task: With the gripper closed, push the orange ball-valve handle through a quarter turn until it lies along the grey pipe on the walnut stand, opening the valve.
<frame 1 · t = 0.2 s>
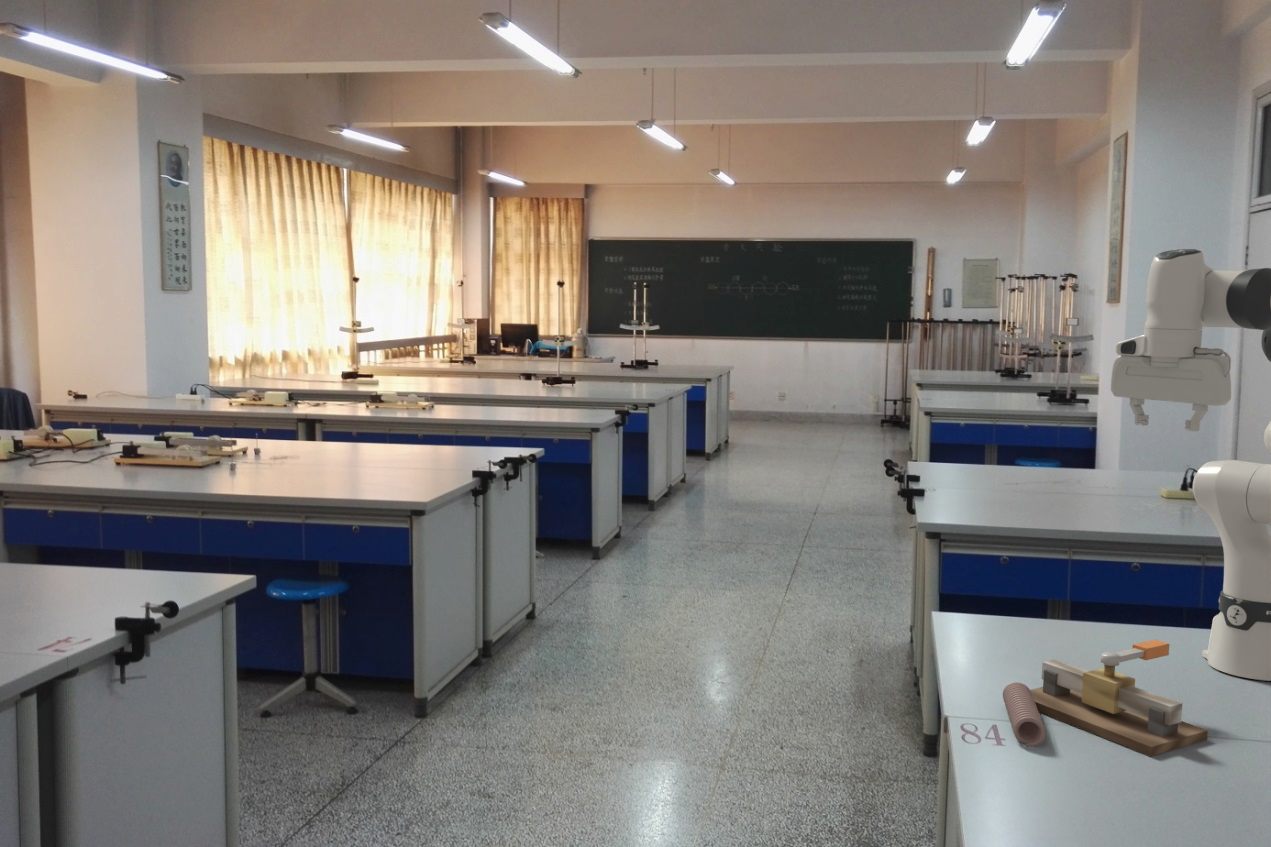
hand: (1166, 428, 188), 47 cm above the table, fingers open, 8 cm apart
valve stand: (1106, 719, 181), on the table
coil: (1022, 727, 179), on the table, touching valve stand
valve lever: (1133, 653, 183), point 10 cm above the table, hinge at 0.0°
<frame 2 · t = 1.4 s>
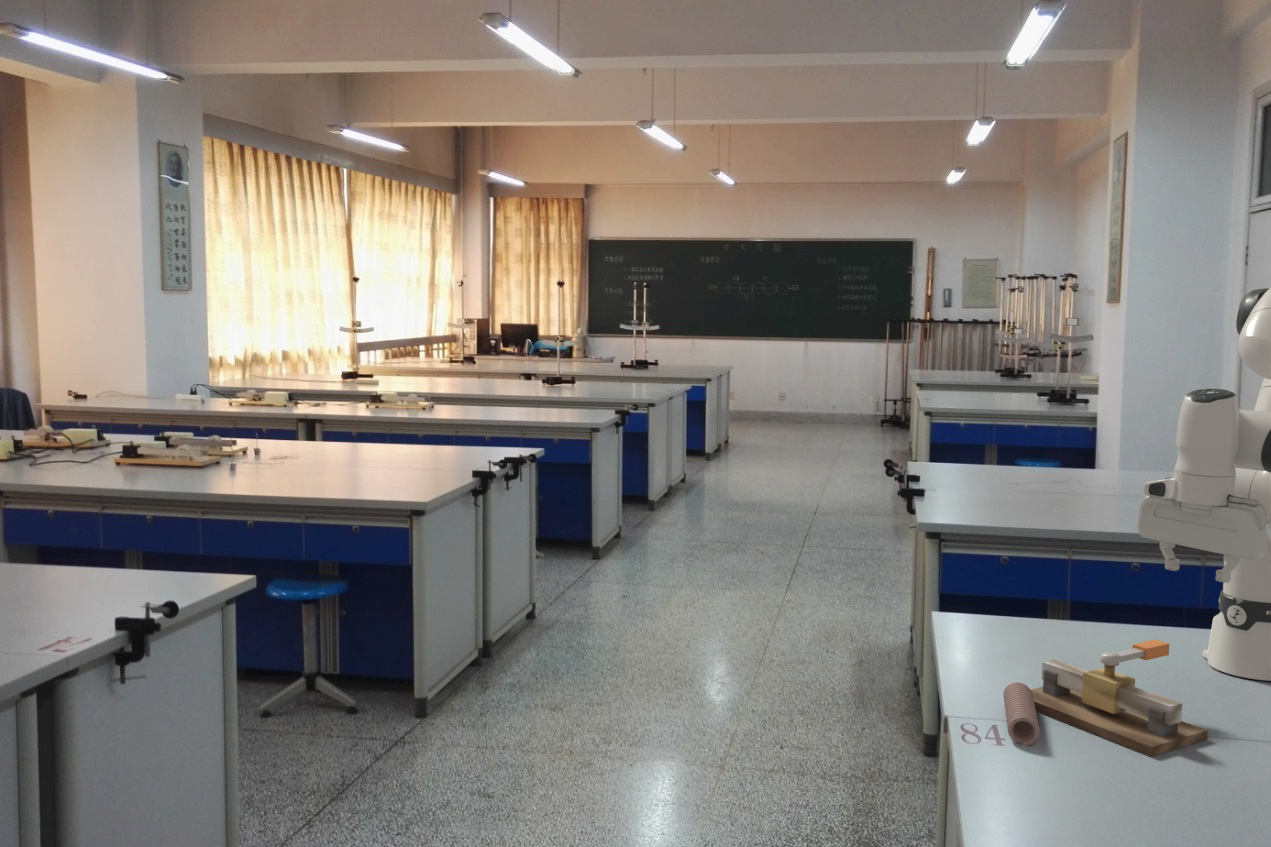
hand: (1196, 575, 178), 25 cm above the table, fingers open, 7 cm apart
coil: (1020, 727, 179), on the table
everything else where it was.
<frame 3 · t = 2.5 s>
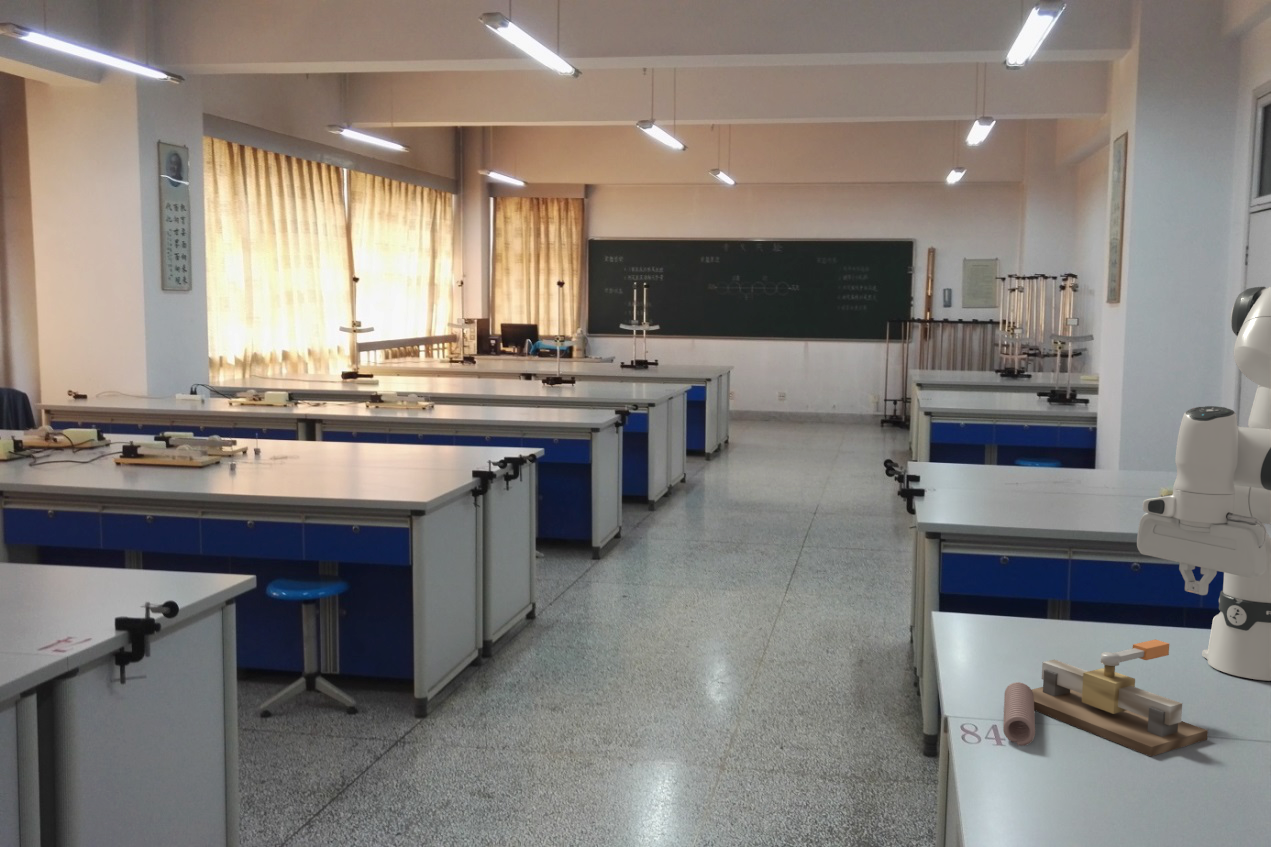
hand: (1196, 592, 179), 22 cm above the table, fingers closed
nothing on the table moved.
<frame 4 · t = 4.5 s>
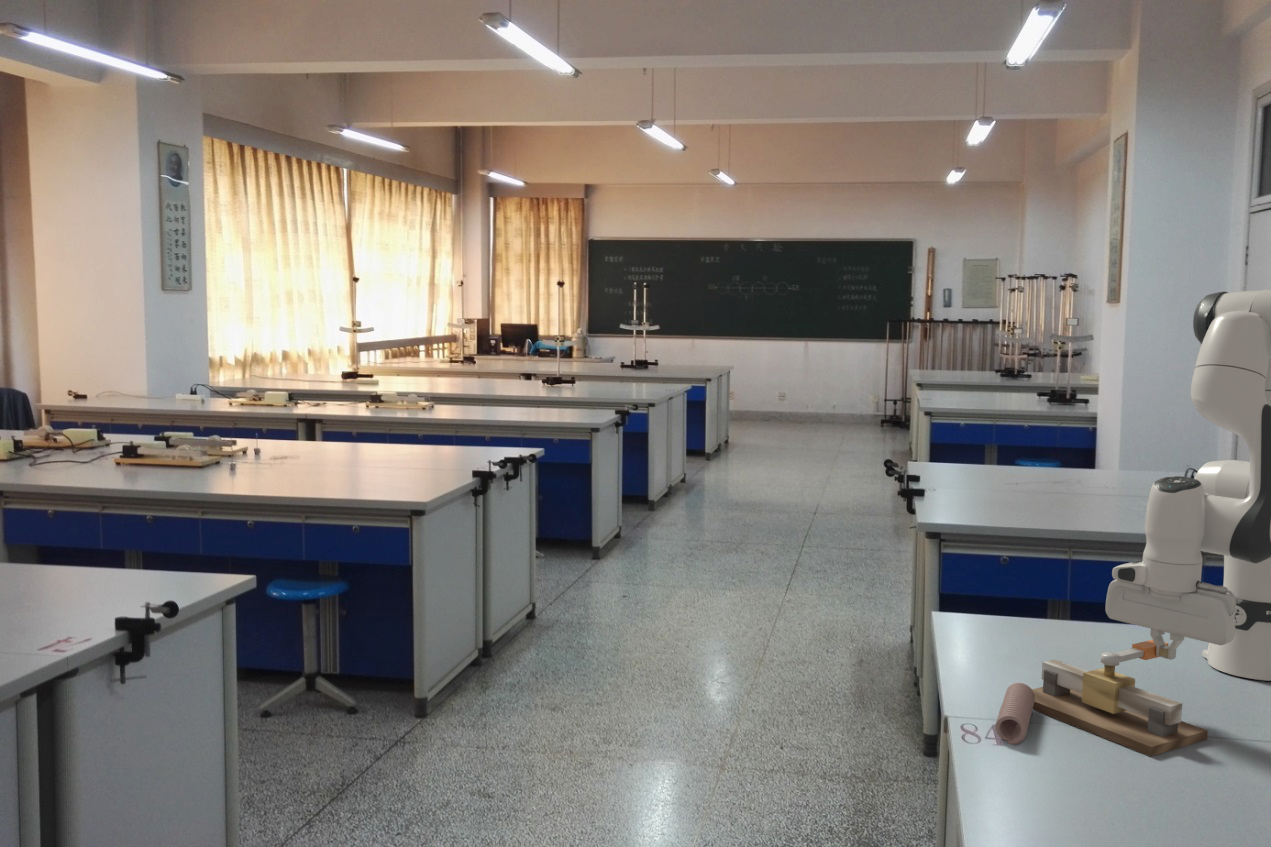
hand: (1165, 657, 184), 10 cm above the table, fingers closed
valve lever: (1133, 653, 183), point 10 cm above the table, hinge at 0.8°, touching gripper
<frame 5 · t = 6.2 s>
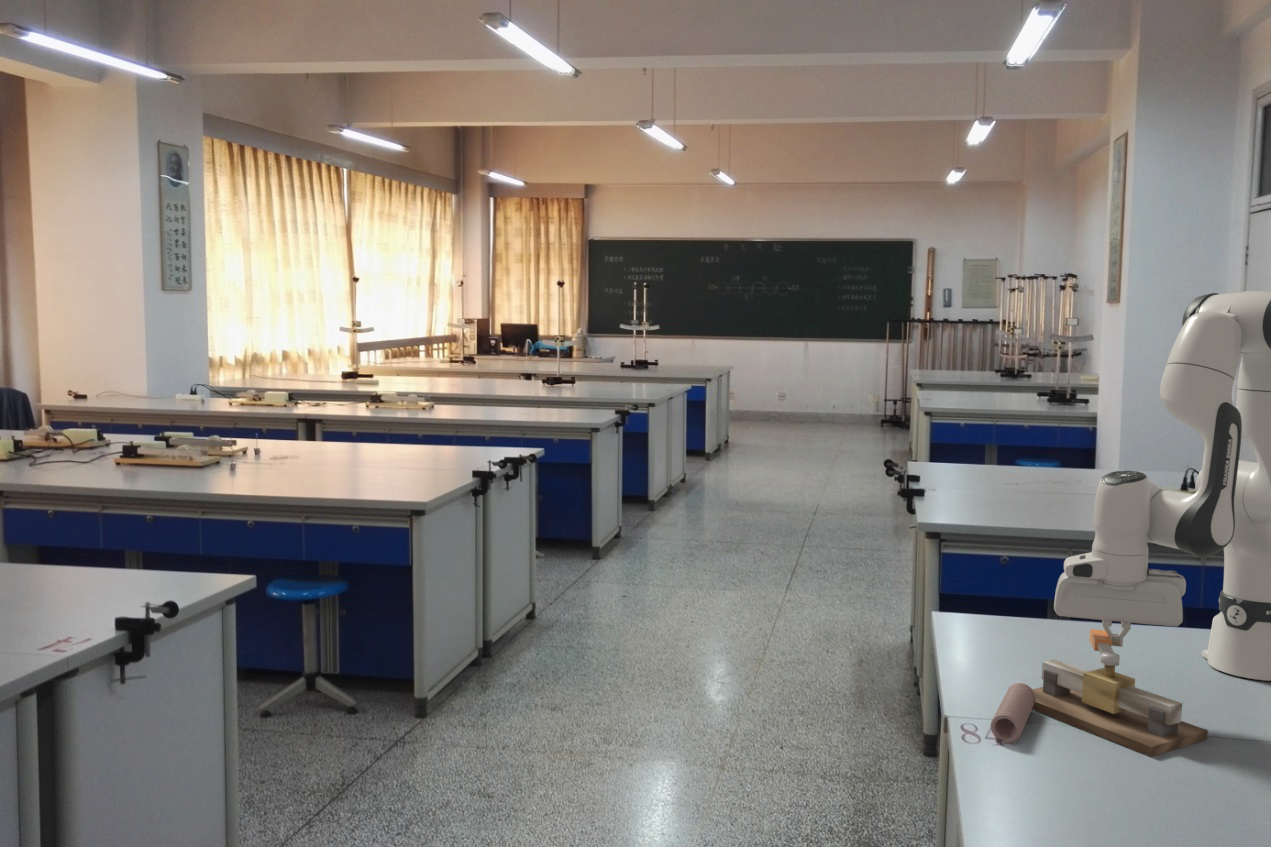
hand: (1115, 645, 190), 10 cm above the table, fingers closed
valve lever: (1104, 648, 186), point 10 cm above the table, hinge at 45.4°, touching gripper
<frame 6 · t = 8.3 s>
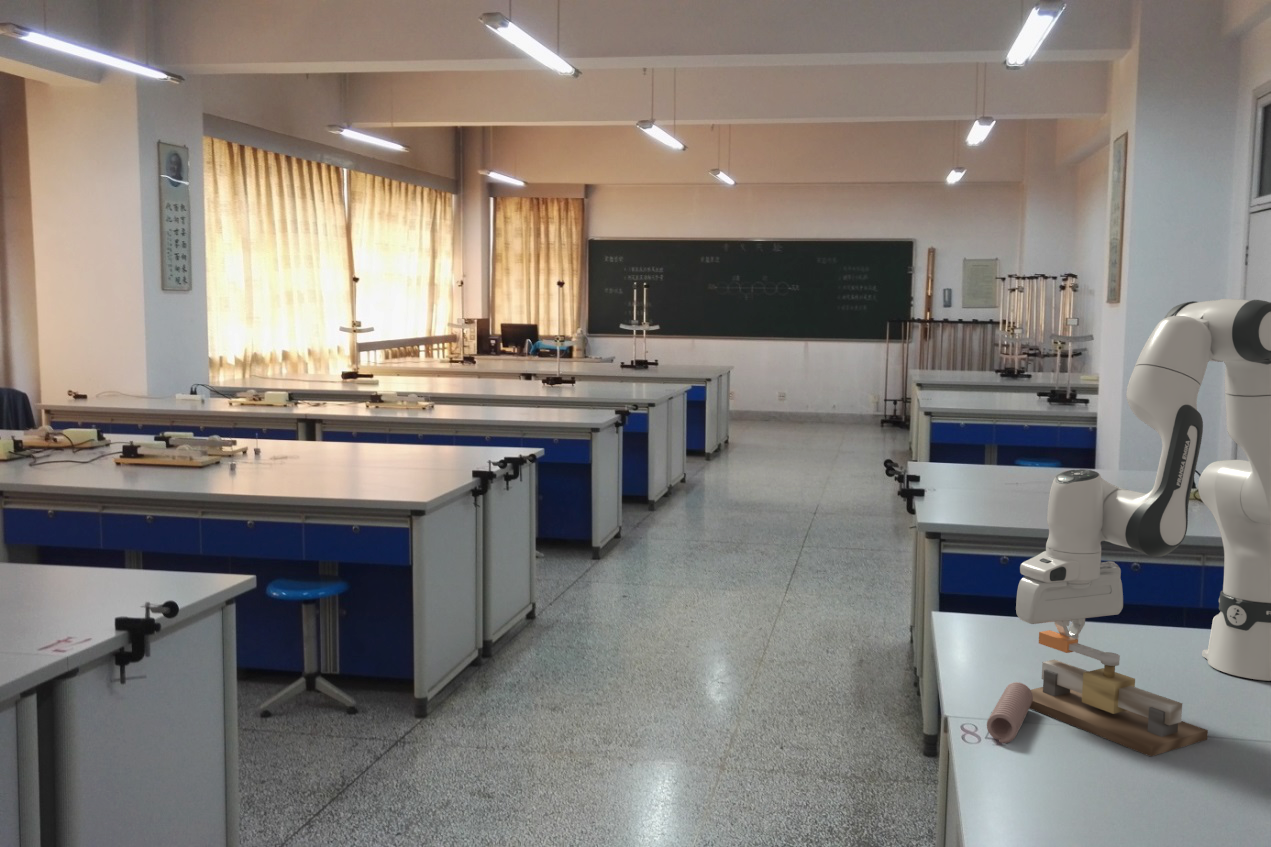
hand: (1068, 643, 191), 10 cm above the table, fingers closed
valve lever: (1079, 648, 186), point 10 cm above the table, hinge at 88.3°, touching gripper
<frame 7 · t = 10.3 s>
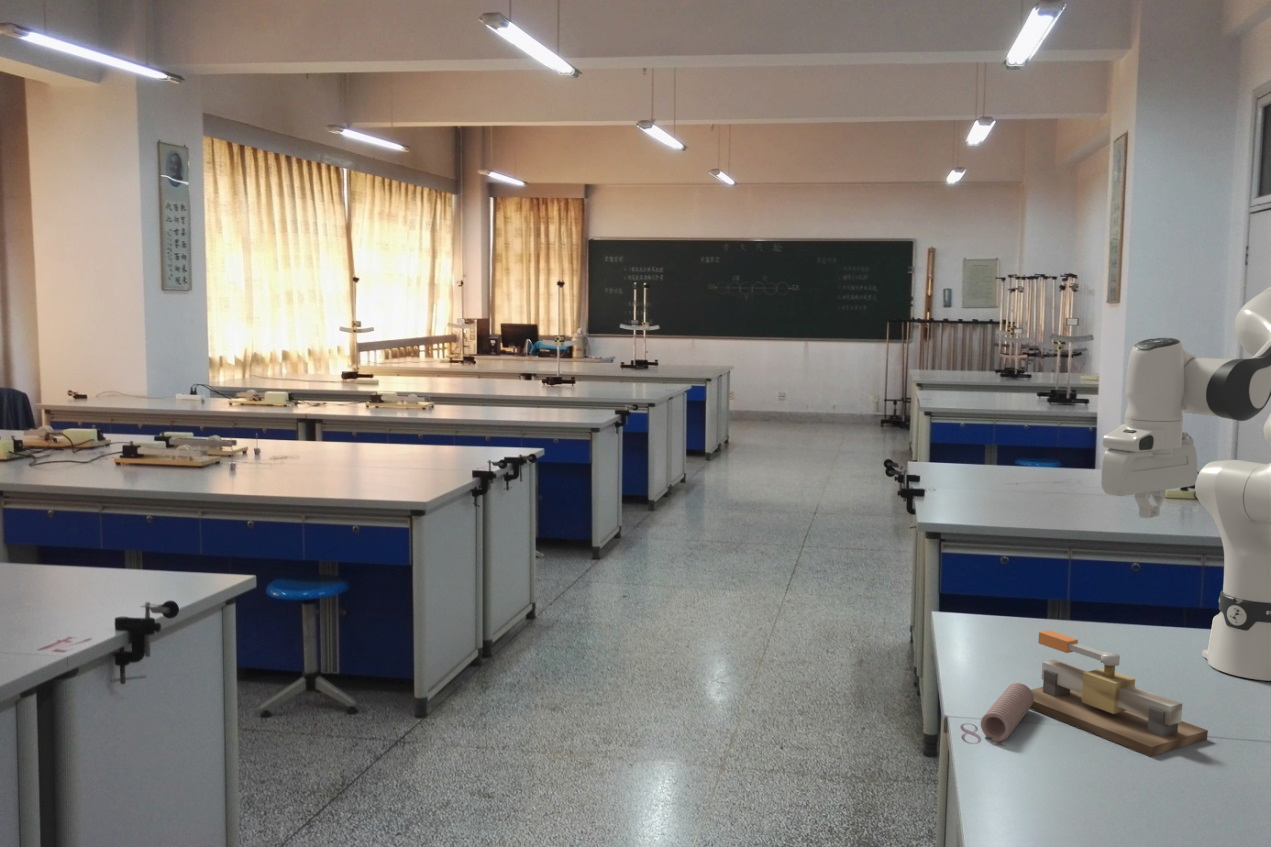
hand: (1149, 516, 187), 32 cm above the table, fingers closed
valve lever: (1079, 648, 186), point 10 cm above the table, hinge at 88.5°
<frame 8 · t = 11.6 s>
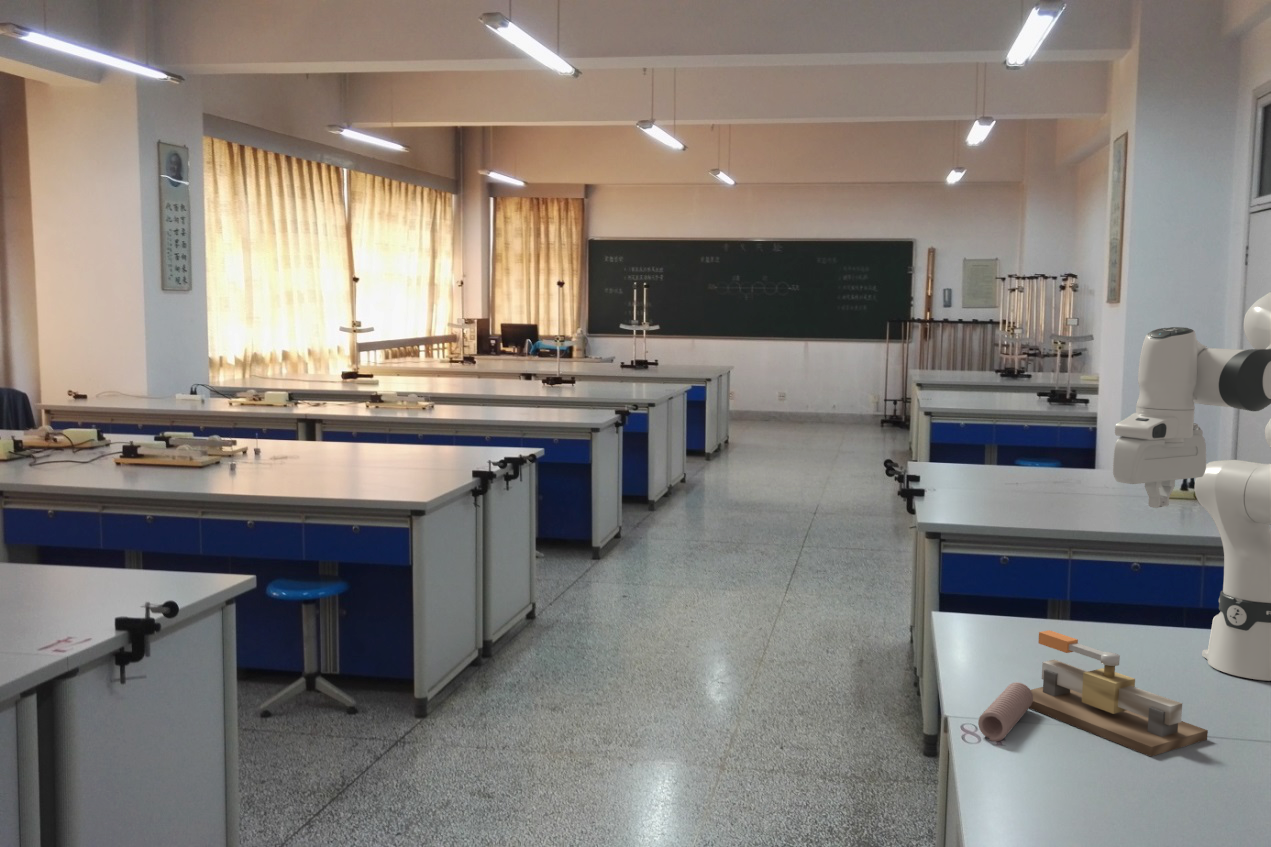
hand: (1158, 506, 186), 34 cm above the table, fingers closed
at the end: valve lever at +88° (first picture: +0°); coil moved 2.7 cm from its start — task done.
